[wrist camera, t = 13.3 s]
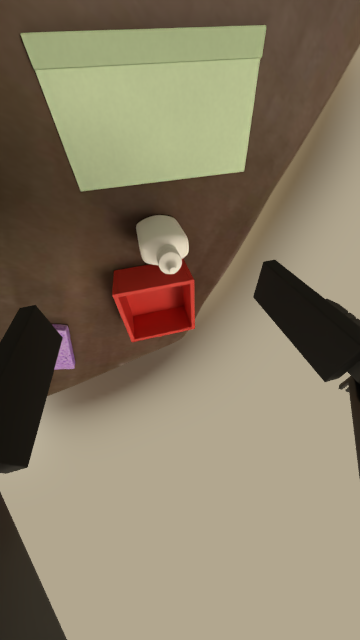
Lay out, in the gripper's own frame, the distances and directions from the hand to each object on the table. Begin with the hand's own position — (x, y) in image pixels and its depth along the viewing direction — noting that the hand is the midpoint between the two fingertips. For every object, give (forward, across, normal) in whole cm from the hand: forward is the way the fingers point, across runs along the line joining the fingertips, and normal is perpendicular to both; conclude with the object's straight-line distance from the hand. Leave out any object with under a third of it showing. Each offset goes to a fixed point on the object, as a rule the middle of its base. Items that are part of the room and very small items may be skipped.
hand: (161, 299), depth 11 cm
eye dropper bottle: (+19, +2, -2) cm, 19 cm away
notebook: (+19, +4, +8) cm, 21 cm away
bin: (+18, 0, -12) cm, 22 cm away
